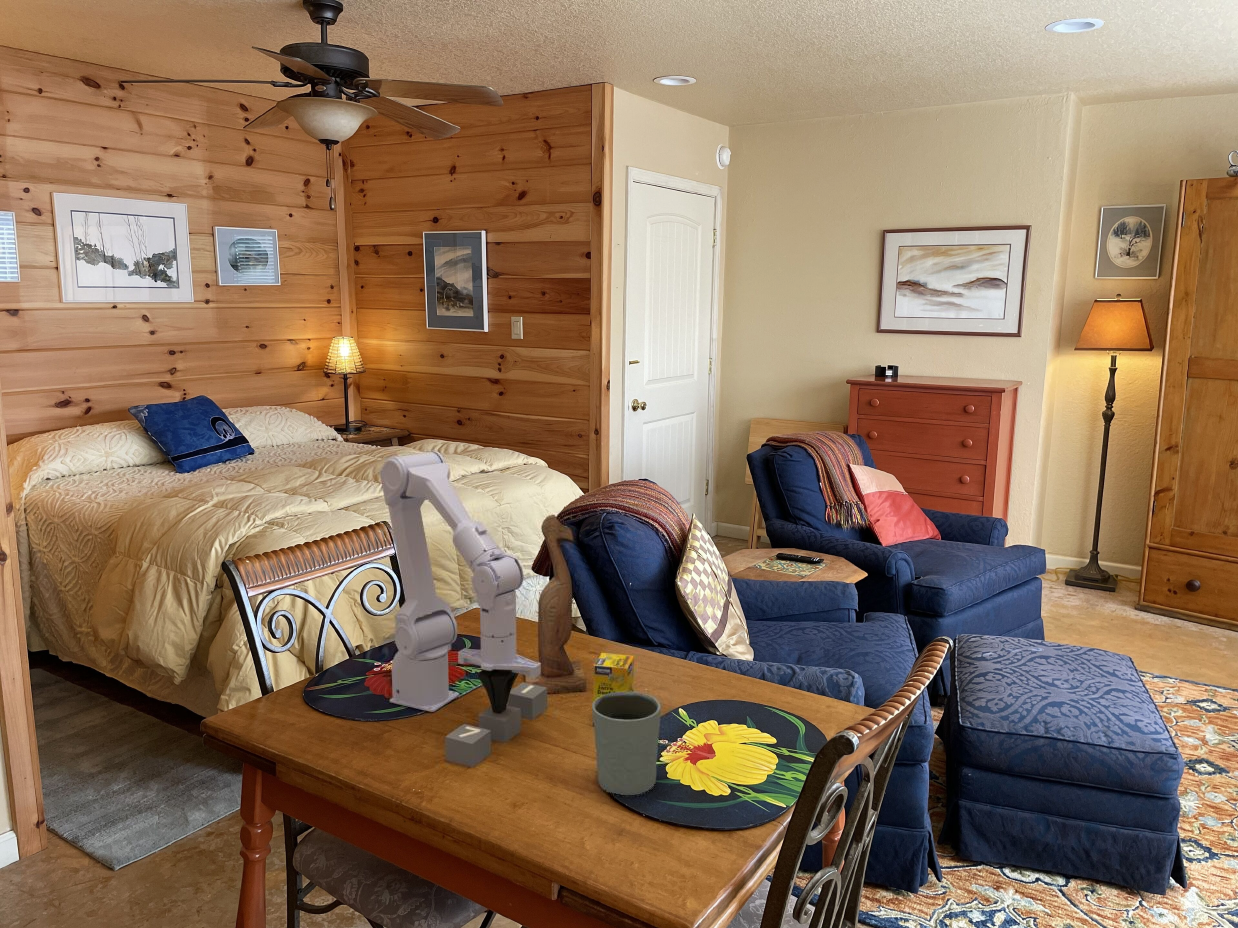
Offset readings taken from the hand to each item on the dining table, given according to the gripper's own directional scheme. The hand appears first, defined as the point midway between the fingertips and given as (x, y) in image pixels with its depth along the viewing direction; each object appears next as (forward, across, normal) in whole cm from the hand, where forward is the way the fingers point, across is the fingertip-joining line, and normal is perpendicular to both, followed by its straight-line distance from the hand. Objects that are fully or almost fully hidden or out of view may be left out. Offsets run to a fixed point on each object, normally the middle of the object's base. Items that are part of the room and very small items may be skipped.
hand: (499, 710), depth 150 cm
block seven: (+4, 0, -9) cm, 10 cm away
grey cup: (+4, +25, -5) cm, 26 cm away
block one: (+4, 0, +9) cm, 10 cm away
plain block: (+4, 0, 0) cm, 4 cm away
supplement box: (+4, +15, +12) cm, 20 cm away
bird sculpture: (+4, -2, +22) cm, 22 cm away
